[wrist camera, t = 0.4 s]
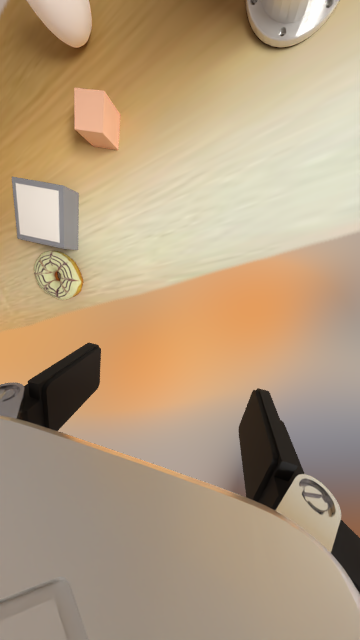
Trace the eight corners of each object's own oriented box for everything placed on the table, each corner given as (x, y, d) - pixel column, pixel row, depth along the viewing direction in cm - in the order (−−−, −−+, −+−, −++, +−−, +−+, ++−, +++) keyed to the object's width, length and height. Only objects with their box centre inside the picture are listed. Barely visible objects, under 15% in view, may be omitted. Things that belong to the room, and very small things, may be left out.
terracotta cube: (94, 112, 33) (74, 87, 28) (120, 115, 33) (104, 90, 28) (93, 146, 35) (74, 129, 30) (118, 150, 34) (102, 132, 30)
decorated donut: (68, 306, 47) (56, 309, 43) (38, 271, 45) (23, 272, 42) (93, 280, 43) (82, 281, 40) (61, 241, 42) (47, 240, 38)
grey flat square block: (31, 184, 39) (10, 176, 35) (78, 193, 38) (62, 185, 34) (35, 240, 43) (16, 238, 39) (78, 249, 41) (63, 248, 37)
